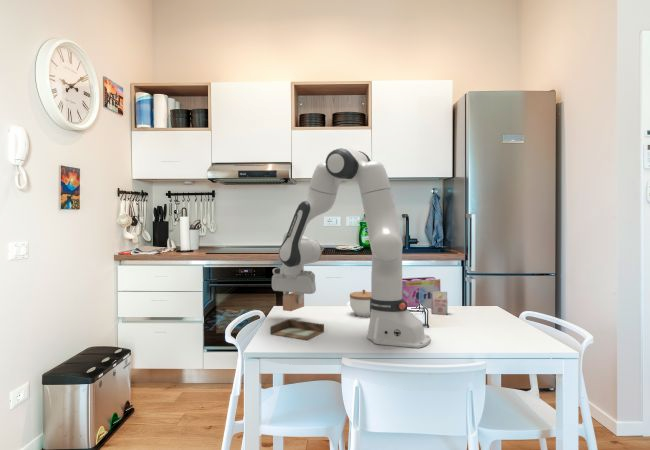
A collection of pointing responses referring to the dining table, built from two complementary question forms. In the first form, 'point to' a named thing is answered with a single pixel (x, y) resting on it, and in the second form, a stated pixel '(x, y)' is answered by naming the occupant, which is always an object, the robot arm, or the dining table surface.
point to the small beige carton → (439, 303)
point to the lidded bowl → (360, 303)
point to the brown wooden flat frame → (297, 329)
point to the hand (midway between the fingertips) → (293, 302)
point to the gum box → (419, 290)
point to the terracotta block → (291, 302)
